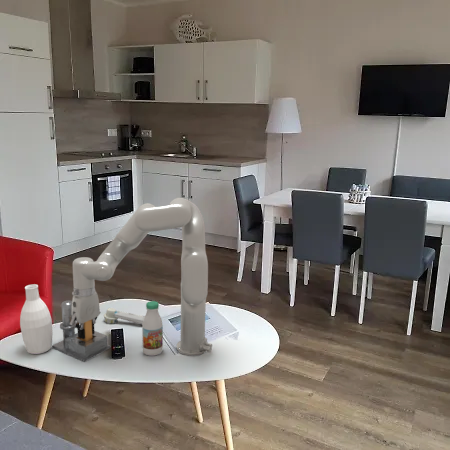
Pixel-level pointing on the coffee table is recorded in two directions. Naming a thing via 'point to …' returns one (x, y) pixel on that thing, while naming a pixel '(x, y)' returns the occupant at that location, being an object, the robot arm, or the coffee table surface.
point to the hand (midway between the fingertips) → (86, 335)
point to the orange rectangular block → (87, 330)
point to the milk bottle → (152, 330)
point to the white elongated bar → (122, 316)
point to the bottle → (35, 322)
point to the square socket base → (73, 343)
